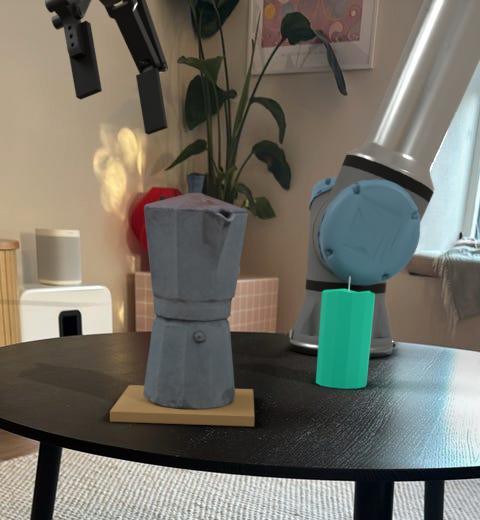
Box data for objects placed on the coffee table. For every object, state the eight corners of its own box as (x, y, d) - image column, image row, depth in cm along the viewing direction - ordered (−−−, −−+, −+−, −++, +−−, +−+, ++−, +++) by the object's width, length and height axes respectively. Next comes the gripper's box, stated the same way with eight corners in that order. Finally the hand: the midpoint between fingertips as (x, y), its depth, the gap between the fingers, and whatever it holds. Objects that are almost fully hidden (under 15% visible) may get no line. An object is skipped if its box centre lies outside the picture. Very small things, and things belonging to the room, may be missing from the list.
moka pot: (182, 421, 65) (184, 165, 57) (107, 388, 76) (101, 172, 69) (272, 410, 70) (284, 173, 62) (189, 381, 81) (191, 179, 74)
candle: (355, 390, 85) (365, 279, 80) (307, 384, 87) (314, 275, 83) (374, 382, 89) (384, 277, 85) (327, 376, 92) (335, 274, 88)
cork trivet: (252, 398, 79) (253, 389, 79) (254, 426, 68) (254, 416, 67) (129, 394, 79) (128, 384, 79) (109, 421, 68) (109, 411, 67)
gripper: (125, -28, 93) (154, 151, 96) (-20, -150, 71) (24, 88, 74) (177, -53, 90) (205, 133, 93) (43, -188, 68) (85, 62, 71)
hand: (125, 114), depth 83 cm, fingers open, 13 cm apart
